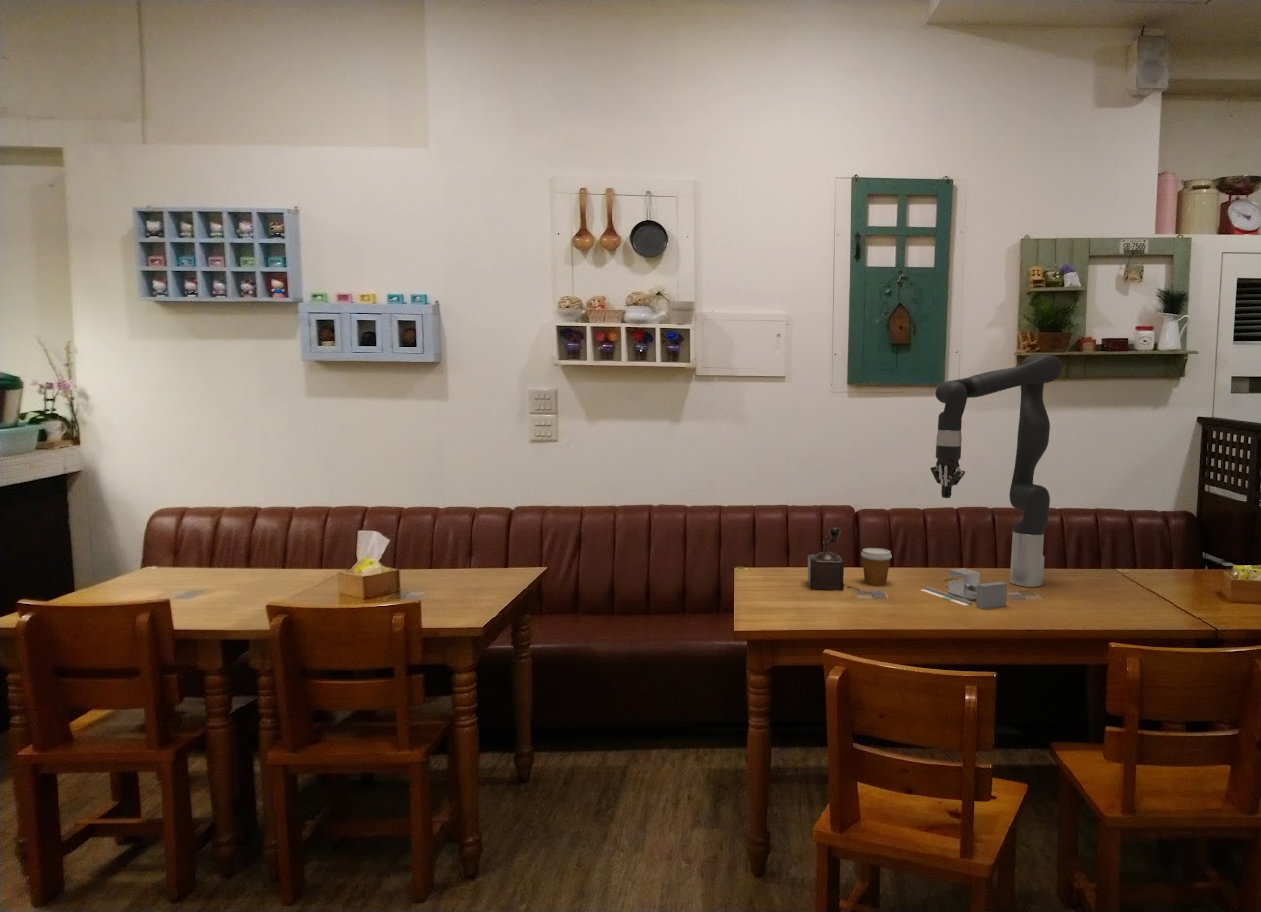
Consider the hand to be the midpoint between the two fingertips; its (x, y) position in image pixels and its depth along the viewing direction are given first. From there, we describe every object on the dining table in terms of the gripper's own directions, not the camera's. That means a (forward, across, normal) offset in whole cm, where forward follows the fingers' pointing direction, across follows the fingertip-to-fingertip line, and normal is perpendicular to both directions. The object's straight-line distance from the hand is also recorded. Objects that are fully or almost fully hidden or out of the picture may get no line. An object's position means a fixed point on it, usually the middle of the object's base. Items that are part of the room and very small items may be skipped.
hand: (946, 497), depth 258 cm
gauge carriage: (+28, -20, +11) cm, 35 cm away
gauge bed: (+29, -17, +8) cm, 35 cm away
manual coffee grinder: (+29, +15, +35) cm, 48 cm away
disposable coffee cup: (+29, +6, +22) cm, 37 cm away
